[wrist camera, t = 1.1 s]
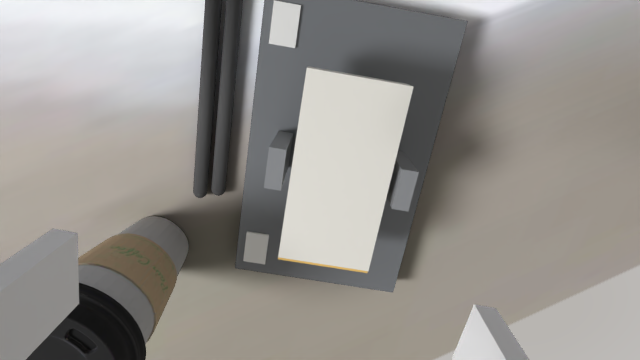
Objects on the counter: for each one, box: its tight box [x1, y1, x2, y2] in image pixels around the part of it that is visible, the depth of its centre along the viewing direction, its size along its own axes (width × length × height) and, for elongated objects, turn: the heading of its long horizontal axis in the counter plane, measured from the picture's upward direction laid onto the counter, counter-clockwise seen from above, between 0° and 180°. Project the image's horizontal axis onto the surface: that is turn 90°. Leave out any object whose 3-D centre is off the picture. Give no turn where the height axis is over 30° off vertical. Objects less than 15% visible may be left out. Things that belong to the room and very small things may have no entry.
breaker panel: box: [235, 0, 468, 292], centre depth 30 cm, size 24×15×8 cm, turn 170°
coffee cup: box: [26, 216, 189, 360], centre depth 29 cm, size 9×9×15 cm
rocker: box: [278, 66, 413, 273], centre depth 28 cm, size 14×7×2 cm, turn 170°
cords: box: [193, 0, 243, 198], centre depth 31 cm, size 18×3×1 cm, turn 170°
